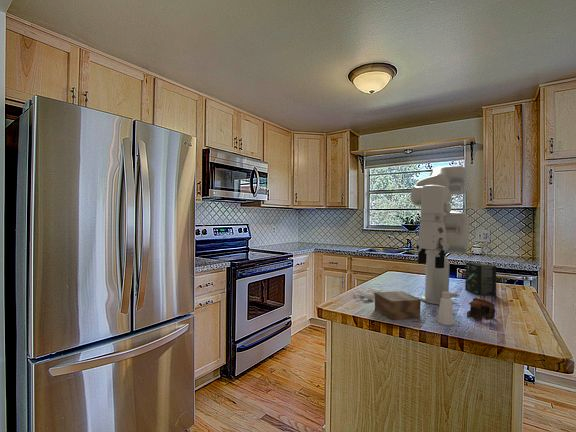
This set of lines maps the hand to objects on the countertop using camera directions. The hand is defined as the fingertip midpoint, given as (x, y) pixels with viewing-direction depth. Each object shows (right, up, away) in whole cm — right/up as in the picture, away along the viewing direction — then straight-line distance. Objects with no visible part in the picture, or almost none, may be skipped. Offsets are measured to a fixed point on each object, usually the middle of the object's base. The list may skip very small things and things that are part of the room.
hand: (430, 265), depth 112 cm
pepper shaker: (+5, -20, -2) cm, 21 cm away
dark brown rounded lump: (+21, -21, +3) cm, 30 cm away
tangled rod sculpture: (-14, -20, +31) cm, 40 cm away
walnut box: (-10, -20, +7) cm, 23 cm away
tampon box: (+45, -21, +43) cm, 66 cm away
